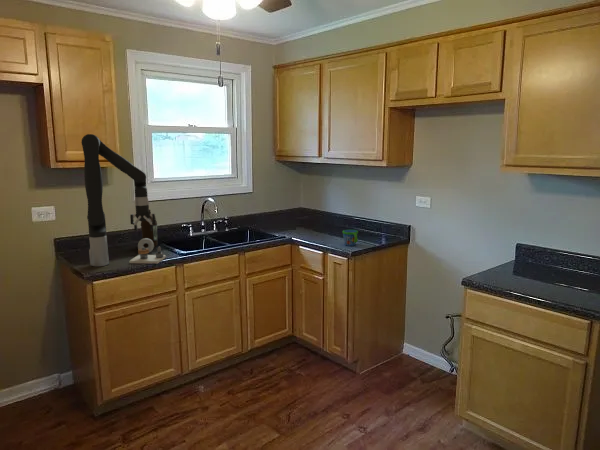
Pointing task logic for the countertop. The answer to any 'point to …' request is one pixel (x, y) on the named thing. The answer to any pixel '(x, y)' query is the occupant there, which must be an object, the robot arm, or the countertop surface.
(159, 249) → the hub post
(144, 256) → the stand rod
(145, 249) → the ring
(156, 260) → the board
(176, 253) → the countertop surface
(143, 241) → the donut
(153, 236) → the olive oil
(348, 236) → the snack cup
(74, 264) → the countertop surface
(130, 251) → the countertop surface
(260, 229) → the countertop surface
